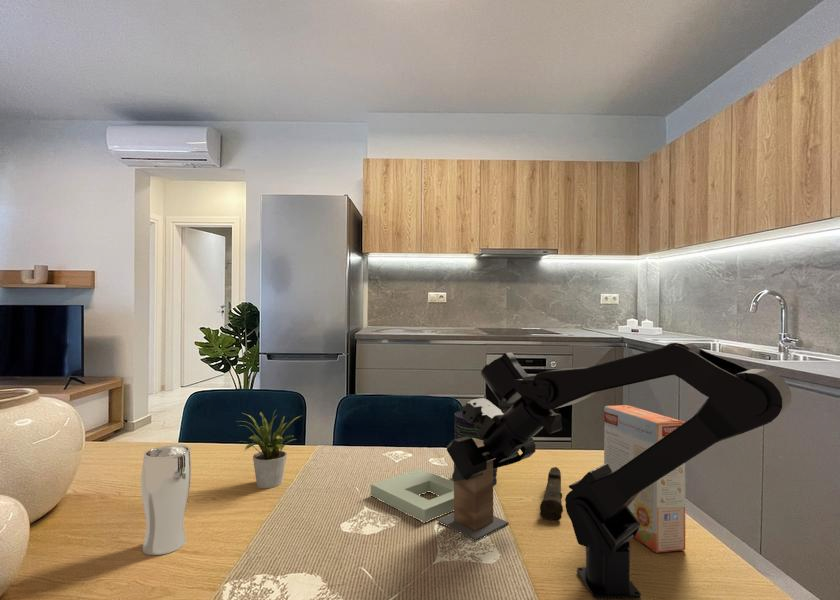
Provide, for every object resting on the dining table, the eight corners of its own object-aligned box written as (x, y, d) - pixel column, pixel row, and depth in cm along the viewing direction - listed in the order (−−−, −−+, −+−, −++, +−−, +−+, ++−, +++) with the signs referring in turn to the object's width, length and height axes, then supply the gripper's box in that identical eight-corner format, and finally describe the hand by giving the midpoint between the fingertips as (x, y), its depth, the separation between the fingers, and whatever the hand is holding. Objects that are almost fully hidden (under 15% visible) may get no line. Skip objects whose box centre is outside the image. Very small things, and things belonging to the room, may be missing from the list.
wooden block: (493, 521, 80) (493, 442, 81) (475, 530, 77) (475, 448, 77) (471, 512, 84) (471, 437, 84) (453, 520, 80) (453, 442, 81)
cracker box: (688, 551, 72) (687, 420, 73) (655, 555, 71) (655, 422, 71) (630, 513, 86) (630, 403, 86) (602, 515, 84) (602, 404, 85)
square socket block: (474, 502, 89) (474, 489, 90) (424, 524, 80) (424, 509, 80) (420, 479, 101) (420, 468, 101) (370, 496, 92) (370, 484, 92)
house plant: (212, 492, 92) (215, 413, 93) (252, 470, 106) (254, 400, 106) (274, 500, 89) (276, 418, 90) (307, 476, 102) (309, 404, 103)
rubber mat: (508, 524, 80) (508, 522, 80) (476, 541, 74) (476, 538, 74) (470, 508, 87) (470, 506, 87) (437, 522, 81) (437, 520, 81)
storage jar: (459, 470, 108) (460, 408, 108) (500, 476, 104) (501, 411, 105) (448, 485, 98) (449, 417, 99) (492, 492, 95) (493, 421, 95)
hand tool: (562, 524, 81) (562, 498, 81) (539, 520, 83) (540, 494, 83) (568, 487, 99) (568, 466, 99) (549, 484, 100) (550, 463, 101)
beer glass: (178, 530, 76) (180, 442, 77) (196, 544, 72) (199, 450, 72) (131, 546, 71) (135, 451, 71) (148, 562, 66) (152, 460, 67)
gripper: (522, 380, 85) (476, 428, 92) (455, 391, 72) (409, 445, 80) (559, 431, 79) (507, 477, 86) (494, 452, 66) (440, 504, 74)
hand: (467, 473), depth 82 cm, fingers open, 7 cm apart
